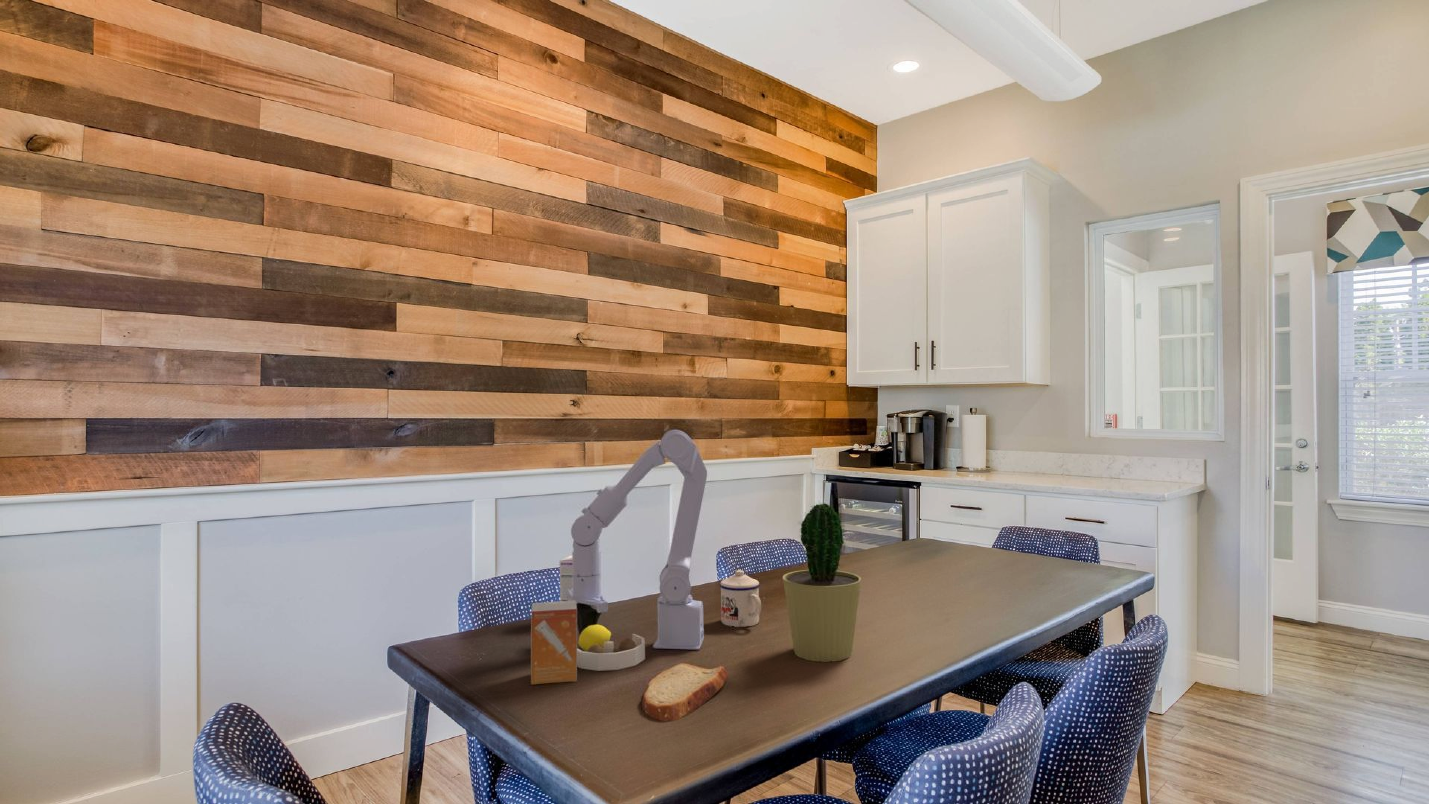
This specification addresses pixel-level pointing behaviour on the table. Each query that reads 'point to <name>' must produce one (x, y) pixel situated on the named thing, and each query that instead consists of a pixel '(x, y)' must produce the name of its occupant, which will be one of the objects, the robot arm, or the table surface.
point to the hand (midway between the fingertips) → (586, 640)
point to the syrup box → (565, 577)
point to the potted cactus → (822, 592)
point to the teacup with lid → (740, 600)
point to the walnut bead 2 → (626, 644)
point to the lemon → (593, 636)
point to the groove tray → (612, 656)
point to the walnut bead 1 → (596, 649)
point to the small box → (554, 642)
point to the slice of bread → (681, 690)
